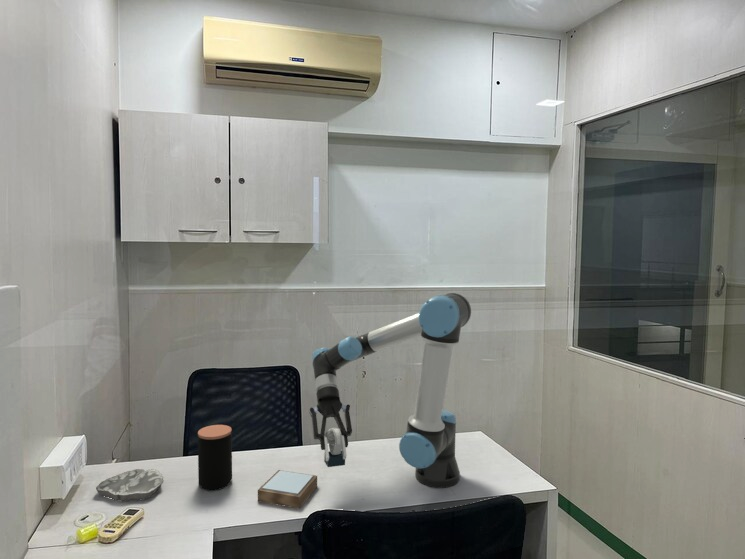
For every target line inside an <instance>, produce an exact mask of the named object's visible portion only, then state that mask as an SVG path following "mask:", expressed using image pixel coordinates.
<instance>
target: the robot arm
mask: <svg viewBox="0 0 745 559" xmlns="http://www.w3.org/2000/svg"><path fill="white" fill-rule="evenodd" d="M471 315H472V307H471V304H470V302H469V300H468V299H467V298H466V297H465V296H464V295H462V294H459V293H455V292H449V293H446V294H440V295H435V296H432V297H431V298H429V299H428V300H427V301H425V302H423V304H422V305H421V307H420V310H419V312H417V313H414V314H412V315H409V316H407V317H404V318H402V319H400V320H397V321H394V322H391V323H389V324H386V325H384V326H382V327H380V328H377V329H373V330H371V331H369V332H367V333H366V332H365V333H364V334H361V335H359V336H357V337H354V336H352V335H351V336H347V337H345V338H344V339H342V340H340V341H339V342H338V343H336V345H334V346H332V347H331V348H328V347H321V348H317V349H315V351H313V353H312V368H313V374H314V384H315V391H316V402H317V404H316V406H315V407H310V408H309V414H310V417H311V422H312V432H313V433H312V434H313V439H314V440H319V443H320V450H321V451H324V457H325V458H326V461H328V460H329V443H328V441H327V437H325V434H326V426H327V425H326V424H327V418H328V419H329V418H334V421H335V422H336V425H337V428H339V429H340V431H341V436H342V454H343V459H345V460H346V459H347V456H348V454H347V449H346V448H348V446H349V441H348V440H349V439H348V437H350V436H352V433H353V428H352V422H351V415H350V414H351V413H350V408H351V404H347V405H346V404H343V403H342V402H341V397H340V392H339V385H338V378H337V371H339V370H340V369H341V368H342V367H344V366H346V365H347V364H349V363H352V362H354V361H357V360H358V359H361V358H365V357H367V356H369V355H372V354H375V353H378V352H379V351H382V350H385V349H388V348H390V347H393V346H396V345H399V344H402V343H405V342H407V341H409V340H412V339H415V338H417V337H421V338H422V340H423V341H424V347H423V351H422V358H421V364H420V365H421V366H420V372H419V379H418V386H417V390H416V391H417V392H416V398H415V404H414V411H413V414H411V415H410V416H408V418H407V424H406V430H405V434H402V436H401V438H400V441H399V443H398V448H399V453H400V455H401V457H402V458H403V459H404V461H405V462H406V463H407V465H409V466H411V467H412V468H415V478H416V480H417V481H418V482H419V483H421V484H423V485H425V486H428V487H432V488H448V487H453V486H456V485H457V484H458V483H459V482H460V478H461V475H460V474H461V472H460V468H459V465H458V461H457V458H456V434H457V430H456V428H457V421H456V418H457V417H456V415H455V413H453V412H451V411H448V410H445V409H443V408H444V402H445V397H446V391H447V384H448V377H449V372H450V365H451V361H452V360H451V359H452V354H453V348H454V346H456V345H457V344H458V343H459V341H460V335H461V329H462V327H465V325H467V323H469V320H470V319H471ZM341 410H342V411H343V412H342V413H344V419H345V420H344V421H345V425H344V423H343V420H342V418H341V416H340V412H341ZM318 412H319V413H320V415H321V416H322V418H321V419H322V420H321V428H320V433H319V429H318V419H317V414H318ZM345 426H346V428H345Z"/></svg>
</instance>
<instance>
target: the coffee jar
mask: <svg viewBox="0 0 745 559" xmlns="http://www.w3.org/2000/svg"><path fill="white" fill-rule="evenodd" d="M232 431H233V430H232V427H231V426H229V425H226V424H213V425H208V426H205V427H204V426H203V427H202V428H200V429H199V430H198V431H197V437H198V438H197V457H198V458H197V464H198V465H197V466H198V467H197V469H198V470H197V472H198V474H197V475H198V485H199V487H200V488H201V489H202V490H204V491H218V490H222V489H225V488H226V487H228V486H229V485H230V483H231V482H232V479H233V447H232V446H233V437H232Z"/></svg>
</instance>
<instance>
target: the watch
mask: <svg viewBox="0 0 745 559" xmlns="http://www.w3.org/2000/svg"><path fill="white" fill-rule="evenodd" d="M324 437H327V443H328V452H329V460H328V461H326V458H325V456H324V459H323V460H324V463H325V465H326V466H327V468H333V467H340V466H346V459H343V454H342V435H341V431H340V429H339V428H338V427H330V428H329V429H328V430H327V431H325V434H324Z"/></svg>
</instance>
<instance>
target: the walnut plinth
mask: <svg viewBox="0 0 745 559" xmlns="http://www.w3.org/2000/svg"><path fill="white" fill-rule="evenodd" d="M317 487H318V475H314V474H308V473H301V472H295V471H288V470H281V469H279V470H277V471H276V472H275V473H273V474H272V476H271V477H270V478H269V479H268V480H266V481H265V482H264V483H263V484H262V485H261V486H260V487H259V488H257V502H259V503H264V504H271V505H276V504H278V505H277V506H282V505H285V506H284V507H288V506H291V507H290V508H293V507H296V508H295V509H301V507H302V506H303V505H304V504H305V502H306V501H307V500H308V499H309V497H310V496H311V495H312V494H313V492H314V491H315V490H316V489H317ZM307 498H308V499H307ZM306 499H307V500H306ZM302 504H303V505H302Z"/></svg>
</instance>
